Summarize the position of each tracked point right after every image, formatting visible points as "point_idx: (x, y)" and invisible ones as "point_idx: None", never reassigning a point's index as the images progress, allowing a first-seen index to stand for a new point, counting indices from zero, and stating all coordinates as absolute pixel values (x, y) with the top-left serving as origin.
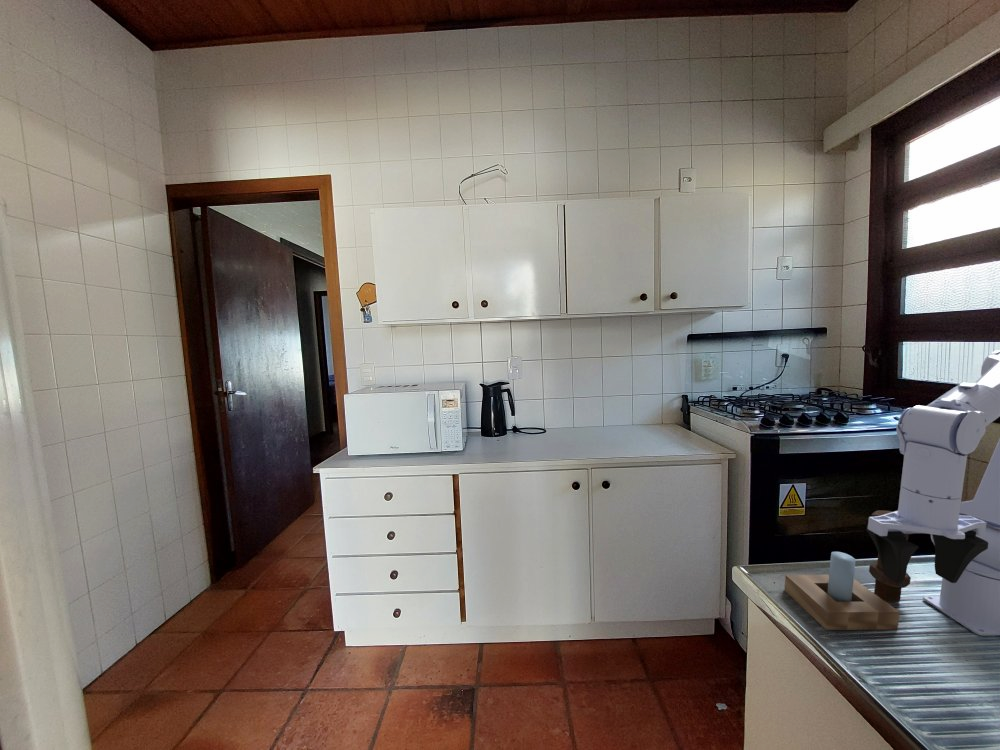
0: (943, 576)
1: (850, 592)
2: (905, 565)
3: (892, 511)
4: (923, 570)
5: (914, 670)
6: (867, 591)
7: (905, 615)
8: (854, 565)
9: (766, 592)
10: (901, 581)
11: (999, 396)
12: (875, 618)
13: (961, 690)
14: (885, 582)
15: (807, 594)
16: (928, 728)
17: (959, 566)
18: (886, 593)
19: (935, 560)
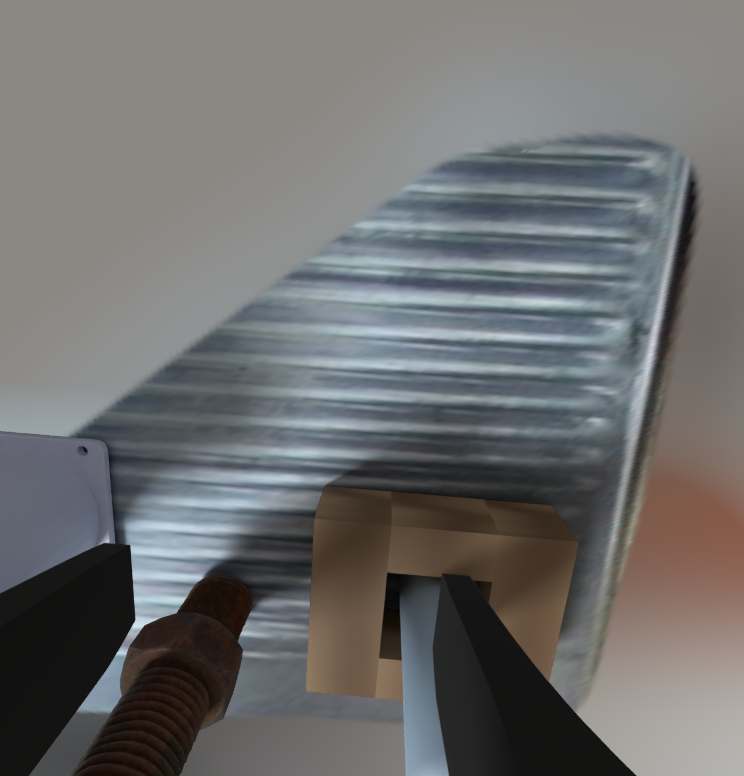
0: (126, 593)
1: (432, 608)
2: (507, 688)
3: None
4: None
5: (440, 349)
6: (324, 612)
7: (239, 530)
8: (435, 729)
9: (589, 655)
10: (456, 581)
11: None
12: (398, 512)
13: (379, 277)
14: (230, 639)
15: (561, 623)
16: (621, 174)
17: (2, 629)
18: (234, 604)
19: (71, 712)
